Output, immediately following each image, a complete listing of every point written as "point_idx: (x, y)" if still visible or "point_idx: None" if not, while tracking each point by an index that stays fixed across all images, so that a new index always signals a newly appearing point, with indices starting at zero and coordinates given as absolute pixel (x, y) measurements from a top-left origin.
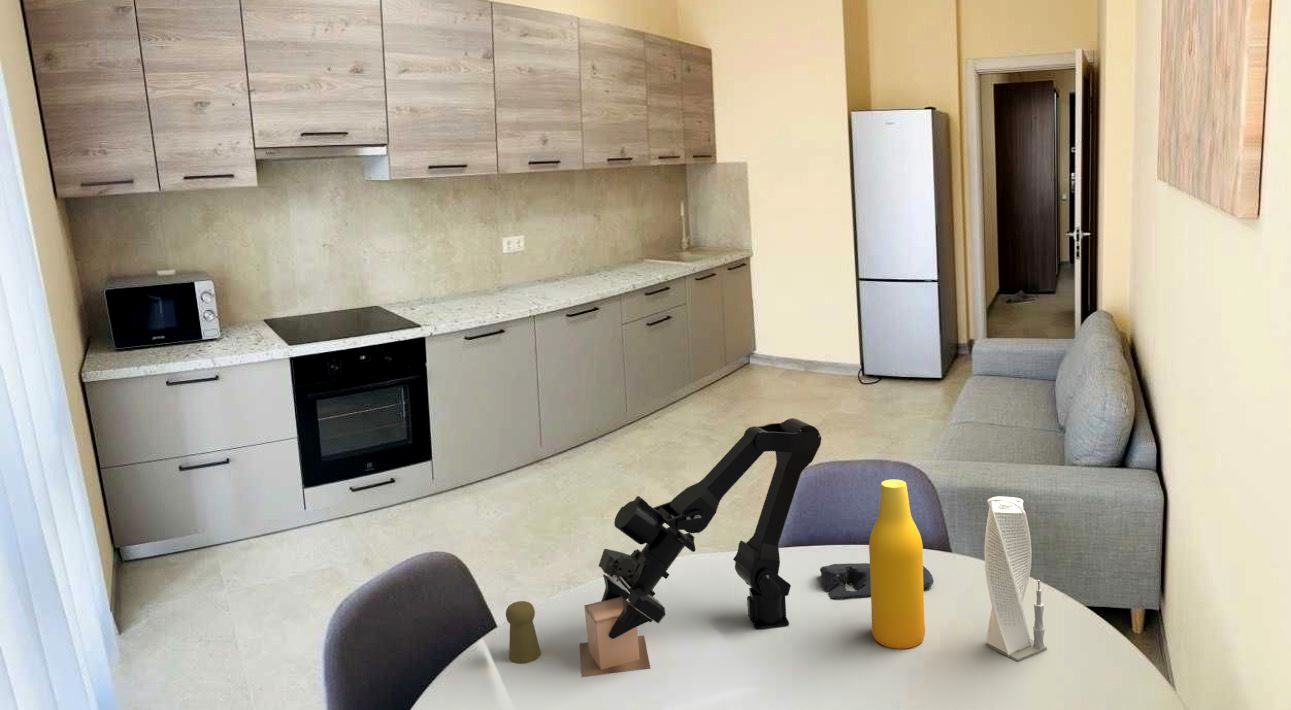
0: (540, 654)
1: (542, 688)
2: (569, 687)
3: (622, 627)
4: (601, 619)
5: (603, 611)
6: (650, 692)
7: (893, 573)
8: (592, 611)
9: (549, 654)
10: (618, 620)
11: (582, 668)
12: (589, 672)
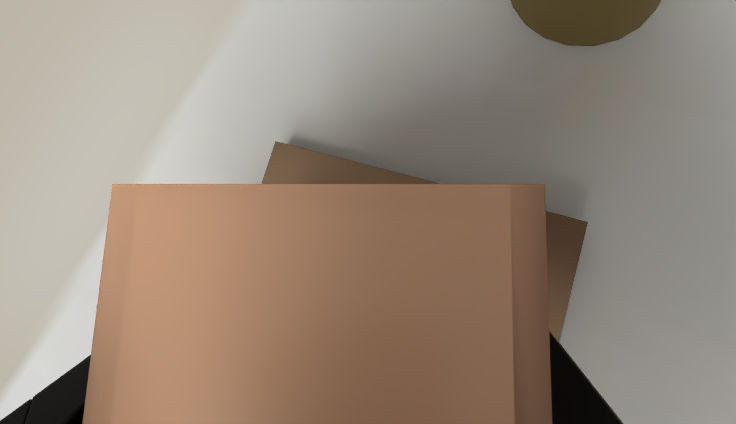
0: (563, 21)
1: (324, 2)
2: (276, 95)
3: None
4: (133, 248)
5: (280, 332)
6: (74, 366)
7: None
8: (344, 221)
9: (588, 81)
10: (49, 400)
11: (337, 163)
12: (290, 181)
